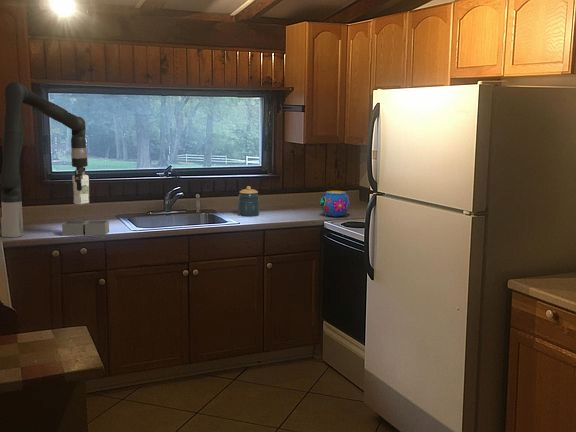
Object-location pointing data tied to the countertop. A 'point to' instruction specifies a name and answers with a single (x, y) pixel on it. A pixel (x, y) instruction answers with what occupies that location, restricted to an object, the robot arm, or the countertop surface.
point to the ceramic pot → (335, 203)
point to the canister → (248, 202)
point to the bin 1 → (73, 228)
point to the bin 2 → (96, 227)
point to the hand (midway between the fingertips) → (81, 189)
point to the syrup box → (82, 195)
